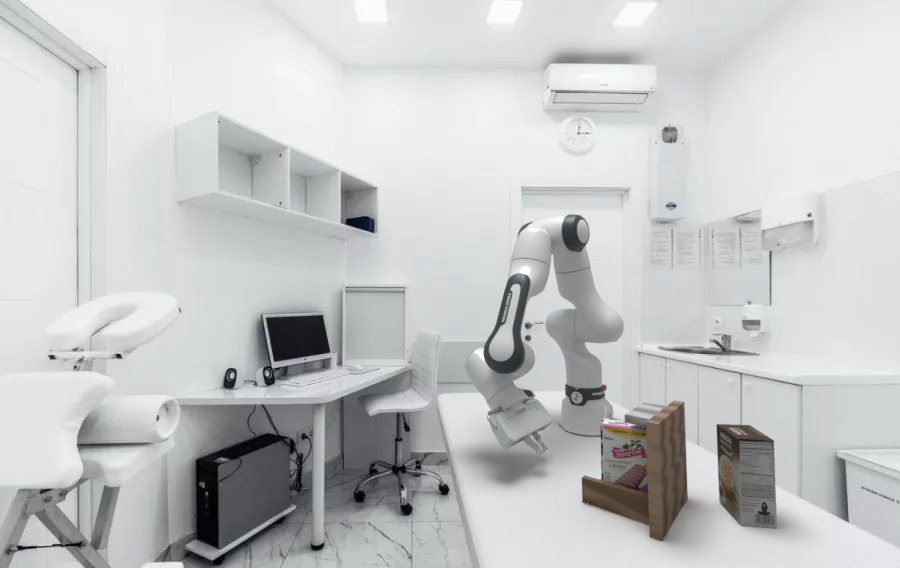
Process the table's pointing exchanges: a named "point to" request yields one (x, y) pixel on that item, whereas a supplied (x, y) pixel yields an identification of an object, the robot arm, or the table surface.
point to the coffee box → (747, 475)
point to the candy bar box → (624, 454)
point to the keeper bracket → (650, 472)
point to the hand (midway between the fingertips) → (543, 451)
